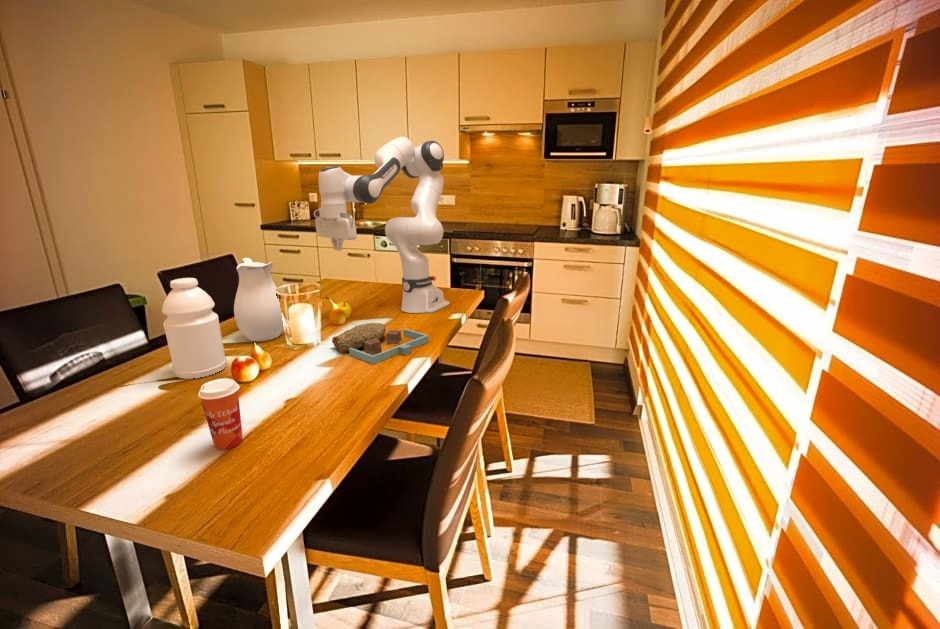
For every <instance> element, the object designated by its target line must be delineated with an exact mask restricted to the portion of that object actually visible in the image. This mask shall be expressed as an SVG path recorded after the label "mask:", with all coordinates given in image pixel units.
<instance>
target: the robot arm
mask: <svg viewBox="0 0 940 629" xmlns="http://www.w3.org/2000/svg"><path fill="white" fill-rule="evenodd" d="M444 158H445V154H444V150H443V147H442V145H441V144H440V143H439V142H437V141H436V140H427V141H425V142H423V143H422V144H420V145H418V146H417V147H416V146H414V144H413V142H412V141H411V140H410V138H408V137H406V136H399V137H396V138H394V139H392V140H390V141H388V142H387V143H385V144H383V146H381V147H380V148H379V149H378V150H377V151H376V152H375V154H374V164H375V167H376V169H377V170H376V171H375V172H374V173H372V174H364V175H352V174H350V173H348V172H346V171H345V170H343V169H342V168H341V167H342V166H340V165H331V166H329V165H328V166H325V167H322V168H321V169H320V170H319V172H318V190H319V195H320V197H321V199H320V200H321V201H320V208H318V209H316V210H314V212H313V215H314V217H315V220H314V221H315V231H316V234H317V236H318V237H321V238H329V239H330V243H331V244H332V247H333V251H337V252H338V251H339V252H340V251H343V243H344V241H345V240H346V241H354V240H356V239H357V237H358V235H357V234H358V233H357V228H356V223H355V220H354V218H353V216H352V215H351V214H350V213H348V211H347V202H349V203H362V204H368V205H371V204H374V203H375V202H377V201H378V200H379V199H380V196H381V195H382V192H383V191H384V189H385V188H386V187H387V186H388V185H389V184H390V183H392V181H393V180H394V179H395V177H397V176H398V174H399V173H400V171H401V172H403V174H404V175H405V176H406V177H408V178H409V179H416V178H418V184H417V186H416V188H415V190H414V192H413V195H412V198H411V200H410V207H411V210H412V212H413V213H414V214H415V215H416V216H413V217H411V216H410V217H408V216H407V217H406V216H404V217H403V216H398V217H394V218H393V217H392V218H390V219H388V221H387V222H386V224H385V226H384V233H385V237H386V238H387V239H388V241H389V242H391V243H392V244H393V245H394V247H395V248H396V250H397V251H398V254H399V257H400V259H401V260H400V261H401V268H402V277H401V285H402V298H401V300H402V301H401V307H400V310H401V311H402V312H405V313H411V314H421V313H435V312H437V311H438V310H441V309H443V308H445V307H447V306H449V305H450V301H448V300H446V299H445V296H444V292H443V291H442V289H440V288H439V287H437V286H436V285H434V284H433V282H435V281H437V276H435V275H430V272H429V271H430V270H429V269H430V268H429V266H430V264H429V259H428V257H427V255H426V254H424V253H423V252H421V250H419V248H418V247H419V246H421V245H423V246H431V245H435V244H439V243H440V242H441V240H442V239H443V236H444V226H443V224H442V223H441V221H439V220H438V218H437V209H438V206H439V203H440V200H441V197H442V194H443V190H444V183H445V181H444V177H443V175H442V174H441V173H440V171H441V170H442V169H443V165H444V164H443V162H444ZM418 245H419V246H418ZM432 281H433V282H432Z"/></svg>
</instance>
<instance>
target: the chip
mask: <svg viewBox="0 0 940 629" xmlns="http://www.w3.org/2000/svg"><path fill="white" fill-rule="evenodd" d="M363 348H364V352H366V353H368V354H370V355H374V354H378V353H381V352H383V351H382V341H381V340H380V339H379V340H377V339H371V340H367V341H364V346H363Z"/></svg>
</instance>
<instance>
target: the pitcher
mask: <svg viewBox="0 0 940 629" xmlns="http://www.w3.org/2000/svg"><path fill="white" fill-rule="evenodd" d="M273 263H274V262H273V261H271V262H270V261H269V262H268V263H264V262H261V261H259V262H258V261H254V262H253V260H252V259H251V258H250V257H243V258H242V259H241V261H240V263H239V264H238V265H237V266H236V272H237V273H238V284H237V285H238V287H237V289H236V290H237V291H236V293H235V298H234V303H233V314H234V316H233V317H234V320H235V324H236V326H237V328H238V330H239V331H240V333H241V334H242V335H243V336H244V337H245V338H246V339H247V340H248V341H250V342H255V341H256V342H258V343H259V342H267V341H272V340H275V339H277V338H279V337H280V335H281V334H282V332H283V331H284V328H283V321H282V315H281V308H280V302H279V299H278V298H277V296H276V289H278V287H277V286H276V284H275V282H274V280H273V277H272V275H271V274H272V273H271V271H272V267H273V265H274V264H273ZM274 338H275V339H274ZM256 342H255V343H256Z"/></svg>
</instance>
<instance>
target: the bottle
mask: <svg viewBox="0 0 940 629" xmlns="http://www.w3.org/2000/svg"><path fill="white" fill-rule="evenodd" d="M169 286H170V288H171V290H170V291H169V293H168V294H167V296H166V297H165V299H164V301H163V304H162V308H161V312H162V314H164V315H166V317H167V318H166V319H165V320H164V321H163V325H162V326H163V328H164V333H165V336H166V341H167V346H168V351H169V355H170V359H171V363H172V368H173V369H172V371H173V373H174V375H175V376H176V377H177V378H178V377H179V379H182V378H183V379H182V380H185V379H186V380H193V378H195V379H201V378H200V377H202V378H206V377H209V375H210V376H213V375H215V373H216V374H218V373H219V371H220V372H222V371H223V370H224V369H226V367H227V357H226V354H225V348H224V343H223V337H222V332H221V326H220V319H219V315H218V314H217V313H216V312H214V311H213V308H214V307H215V305H216V304H215V302H214V300H213V298H212V297H211V295H209V294H208V293H207V291H205V290H203V289H202V288H201V287H199V281H198V279H197V278H195V277H182V278H175V279H173V280H170V283H169ZM221 370H222V371H221ZM217 372H218V373H217ZM212 374H213V375H212ZM205 376H206V377H205Z"/></svg>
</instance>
